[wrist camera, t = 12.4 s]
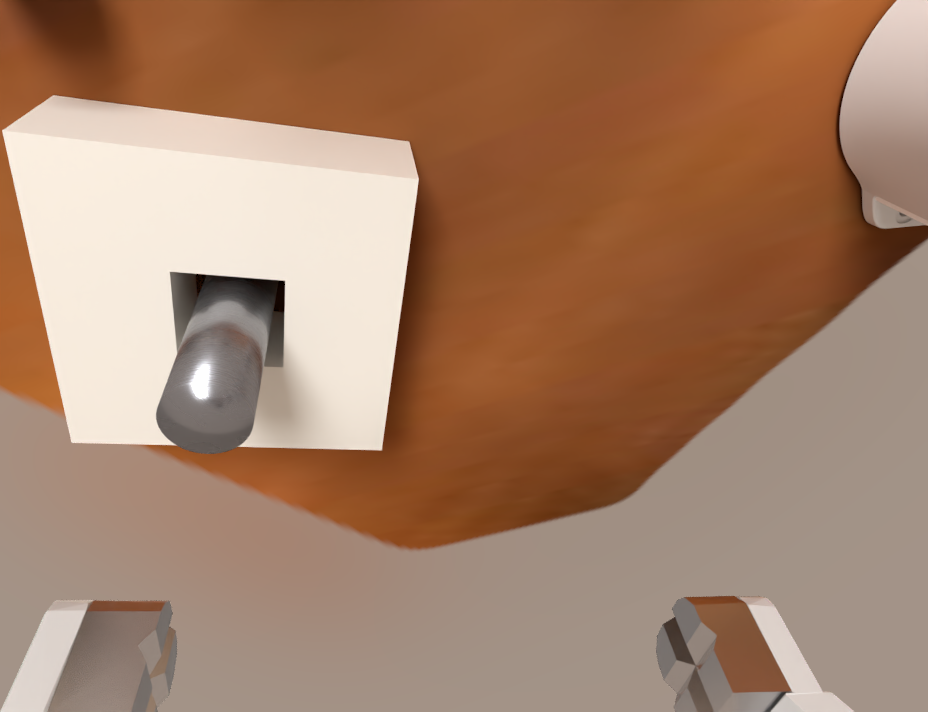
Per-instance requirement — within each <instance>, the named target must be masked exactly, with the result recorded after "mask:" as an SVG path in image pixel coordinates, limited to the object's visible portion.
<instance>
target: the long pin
mask: <svg viewBox="0 0 928 712" xmlns="http://www.w3.org/2000/svg"><path fill="white" fill-rule="evenodd" d="M278 282H279V280H269V279H256V278H243V277H231V276H218V275H206V277H205V280H204V282H203V285H202V288H201V290H200V293H199V296H198V299H197V301H196V304H195V307H194V309H193V312H192V315H191V318H190V320H189V323H188V326H187V328H186V331H185V334H184V337H183V339H182V342H181V345H180V347H179V350H178V353H177V356H176V358H175V361H174V364H173V366H172V369H171V372H170V375H169V377H168V380H167V383H166V385H165V388H164V391H163V394H162V396H161V399H160V402H159V404H158V407H157V411H156V420H157V424H158V427H159V429H160V430H161V432H162V433H163V434H164V436H165V437H166V438H167V439H168V440H170V441H171V442H172V443H174V444H175V445H177V446H179V447H181V448H183V449H186V450H189V451H192V452H197V453H204V454H215V453H222V452H226V451H229V450H232V449H234V448H236V447H238V446H240V445H241V444H242V443H244V442H245V441H246V440H247V438H248V437H249V436H250V434H251V432H252V429H253V425H254V419H255V413H256V408H257V402H258V396H259V391H260V385H261V379H262V374H263V368H264V362H265V356H266V351H267V345H268V339H269V334H270V328H271V322H272V317H273V311H274V305H275V299H276V294H277V288H278Z"/></svg>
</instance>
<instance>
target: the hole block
mask: <svg viewBox="0 0 928 712" xmlns="http://www.w3.org/2000/svg"><path fill="white" fill-rule="evenodd" d="M2 131H3V136H4V140H5V145H6V149H7V154H8V158H9V163H10V167H11V172H12V176H13V181H14V185H15V190H16V194H17V199H18V203H19V208H20V212H21V217H22V221H23V226H24V230H25V235H26V239H27V244H28V248H29V253H30V257H31V262H32V266H33V271H34V275H35V280H36V284H37V289H38V293H39V298H40V302H41V307H42V311H43V316H44V320H45V325H46V329H47V334H48V338H49V343H50V347H51V352H52V356H53V361H54V365H55V370H56V374H57V379H58V383H59V388H60V392H61V397H62V401H63V406H64V410H65V415H66V419H67V424H68V428H69V433H70V437H71V442H72V443H108V444H147V445H175V444H174V443H172V442H171V441H170V440H168V439H167V438H166V437H165V436H164V434H163V433H162V432H161V430H160V429H159V427H158V424H157V420H156V411H157V407H158V404H159V402H160V399H161V396H162V394H163V391H164V388H165V385H166V383H167V380H168V377H169V375H170V372H171V369H172V366H173V364H174V361H175V358H176V356H177V353H178V350H179V347H180V345H181V342H182V339H183V337H184V334H185V331H186V328H187V326H188V323H189V320H190V318H191V315H192V312H193V309H194V307H195V304H196V301H197V299H198V297H197V282H196V274H206V275H218V276H231V277H243V278H256V279H269V280H281V281H285V312H278V311H273V317H272V322H271V328H270V334H269V339H268V345H267V351H266V356H265V362H264V368H263V374H262V379H261V385H260V391H259V396H258V402H257V408H256V413H255V419H254V425H253V429H252V432H251V434H250V436H249V437H248V438H247V440H246V441H245V442H244V443H242V444H241V445H240V446H238V447H268V448H309V449H349V450H382V444H383V437H384V430H385V423H386V415H387V408H388V401H389V393H390V386H391V379H392V372H393V364H394V357H395V350H396V342H397V335H398V328H399V321H400V313H401V306H402V299H403V291H404V284H405V277H406V269H407V262H408V255H409V248H410V240H411V233H412V226H413V218H414V211H415V204H416V197H417V189H418V182H419V178H418V174H417V170H416V166H415V162H414V158H413V155H412V151H411V147H410V143H409V141H401V140H393V139H386V138H378V137H370V136H362V135H355V134H347V133H339V132H332V131H324V130H316V129H309V128H301V127H293V126H286V125H278V124H270V123H263V122H255V121H247V120H239V119H232V118H224V117H216V116H209V115H201V114H193V113H186V112H178V111H170V110H163V109H155V108H147V107H140V106H132V105H124V104H116V103H109V102H101V101H93V100H86V99H78V98H70V97H63V96H55V95H53V96H52V97H50V98H49V99H47V100H46V101H45V102H43V103H42V104H40V105H39V106H37V107H36V108H34V109H33V110H31V111H30V112H29V113H27V114H26V115H24V116H23V117H21V118H20V119H18V120H17V121H15V122H14V123H13V124H11V125H10V126H8V127H7V128H5V129H4V130H2Z"/></svg>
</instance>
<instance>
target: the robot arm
mask: <svg viewBox="0 0 928 712" xmlns="http://www.w3.org/2000/svg"><path fill="white" fill-rule="evenodd" d="M839 125H840V141H841V146H842V150H843V154H844V156H845V159H846V161H847V163H848V165H849V167H850V169H851V170H852V172H853V173H854V174H855V176H856V177H857V179H858V181H859V183H860V185H861V188H862V207H863V214H864V218H865V220H866V221H867V222H868V223H870V224H872V225H874V226H876V227H879V228H882V229H887V228H899V227H910V226H921V225H927V226H928V0H897V1H896V2H895V3H894V4H893V5H892V6H891V8H890V9H889V10H888V11H887V12H886V14H885V15H884V16H883V18H882V19H881V20H880V21H879V23H878V24H877V26H876V27H875V29H874V30H873V31H872V33H871V35H870V36H869V38H868V39H867V41H866V43H865V45H864V46H863V48H862V50H861V52H860V54H859V56H858V58H857V60H856V62H855V64H854V66H853V69H852V71H851V74H850V76H849V79H848V82H847V85H846V88H845V92H844V96H843V100H842V105H841V112H840V124H839ZM672 610H673V613H674V615H675V617H674V618H672V619H671V620H669V621H667V622H666V623H664V624H663V625H662V627H661V629H660V631H659V633H658V635H657V647H656V653H657V659H658V664H659V667H660V670H661V673H662V676H663V679H664V681H665V682H666V683H667V684H668V685H669V686H670V687H671V688H672V689H673V690H674V691H675V692H676V693H677V697H676V701H675V705H674V709H675V712H854V711H853V710H852V709H851V708H849V707H848V706H847V705H846V704H845V703H843V702H842V701H841V700H840V699H839V698H838V697H836V696H835V695H834V694H833V693H832V692H824V691H822V690H821V688H820V686H819V684H818V682H817V681H816V679H815V677H814V675H813V674H812V672H811V670H810V668H809V666H808V665H807V663H806V661H805V659H804V658H803V656H802V654H801V652H800V650H799V649H798V647H797V645H796V643H795V641H794V640H793V638H792V636H791V634H790V633H789V631H788V629H787V627H786V626H785V624H784V622H783V620H782V618H781V617H780V615H779V613H778V611H777V610H776V608H775V606H774V605H773V603H772V602H770V601H769V600H768V599H767V598H765V597H760V596H747V597H735V596H718V597H717V596H716V597H684V598H681V599H679V600H677V602H676V604H675V605H674V606H673V608H672ZM172 614H173V613H172V609H171V604H170V601H96V600H63V601H61V600H60V601H54V603H53V604H52V605H51V606H50V608H49V609H48V610H47V611H46V613H45V615H44V617H43V619H42V621H41V623H40V625H39V628H38V630H37V632H36V634H35V637H34V639H33V641H32V643H31V645H30V648H29V650H28V652H27V654H26V657H25V659H24V661H23V663H22V665H21V667H20V670H19V672H18V674H17V676H16V679H15V681H14V683H13V685H12V687H11V689H10V692H9V694H8V696H7V698H6V701H5V703H4V705H3V707H2V709H1V711H0V712H158V711H157V707H158V706H159V705H160V704H161V703H162V702H163V701H164V700H165V699H166V698H167V697H168V696H169V693H170V689H171V685H172V681H173V677H174V671H175V664H176V657H177V637H176V631H175V630H174V629H172V628H171V627H169V625H170V621H171V618H172Z"/></svg>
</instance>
